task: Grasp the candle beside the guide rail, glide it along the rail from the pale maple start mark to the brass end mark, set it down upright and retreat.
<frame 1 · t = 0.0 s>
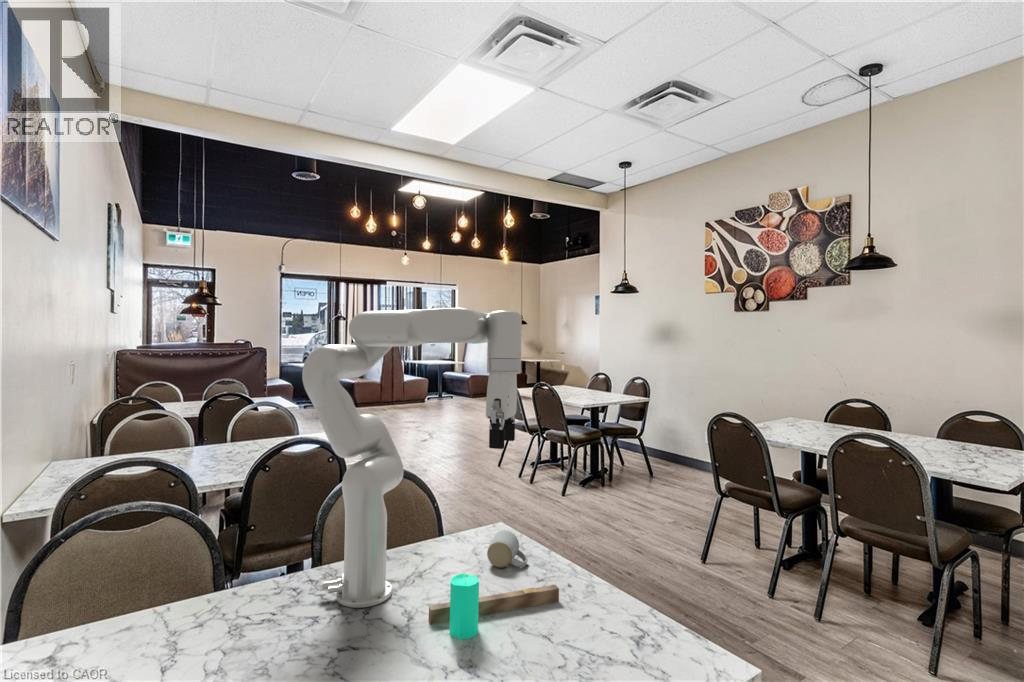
hand: (502, 444, 110), 37 cm above the table, tool pointing down, fingers open, 9 cm apart
ceramic mug: (507, 564, 136), on the table
guide rail: (496, 610, 111), on the table
candle: (463, 631, 103), on the table
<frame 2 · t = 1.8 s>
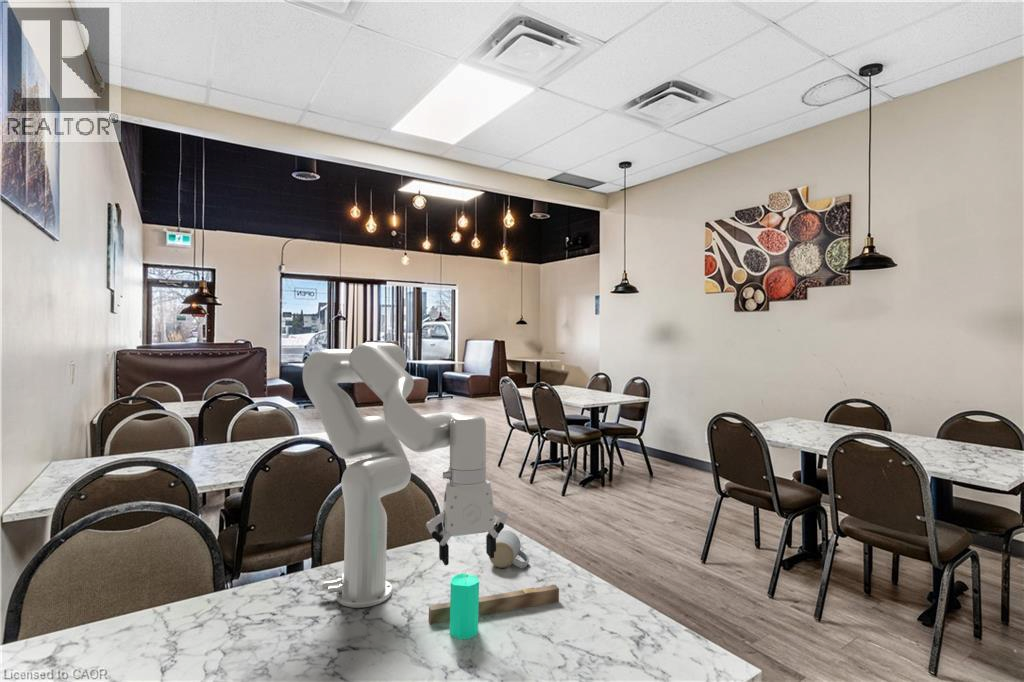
hand: (468, 559, 103), 15 cm above the table, tool pointing down, fingers open, 9 cm apart
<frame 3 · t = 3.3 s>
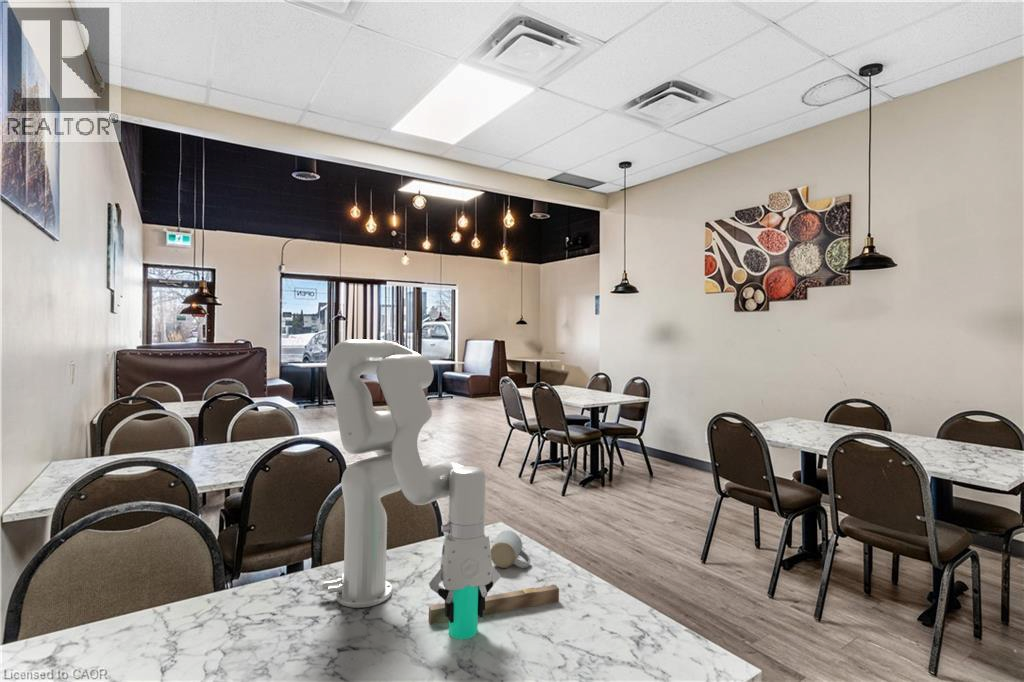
hand: (464, 615, 103), 3 cm above the table, tool pointing down, fingers closed on candle, 5 cm apart
candle: (463, 631, 103), on the table, touching gripper
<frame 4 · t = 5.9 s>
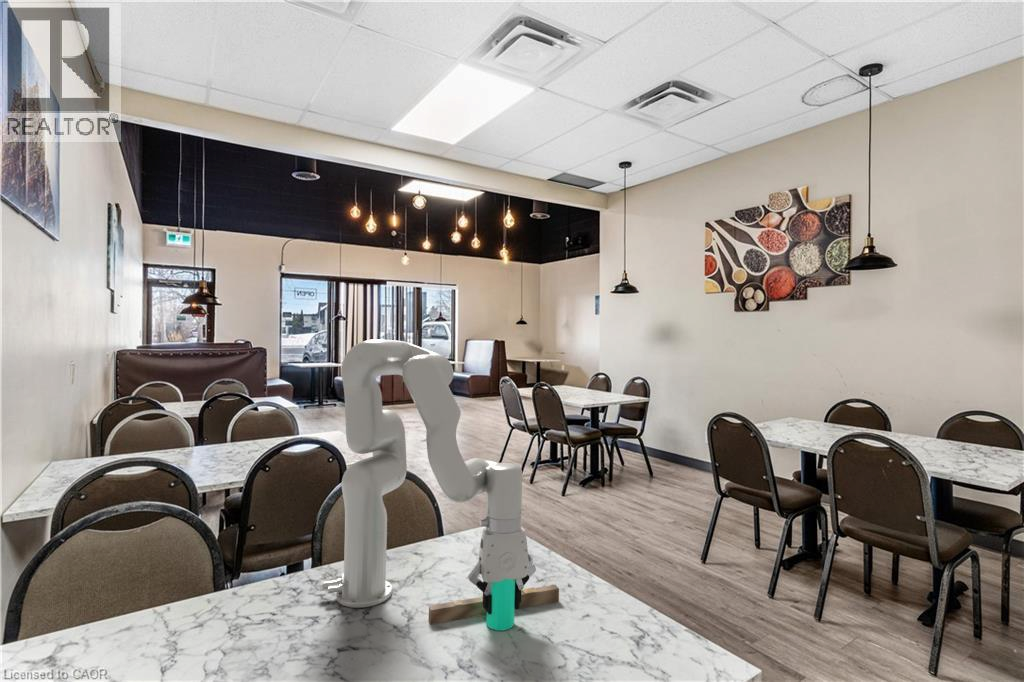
hand: (501, 607, 106), 3 cm above the table, tool pointing down, fingers closed on candle, 5 cm apart
candle: (500, 623, 106), on the table, touching gripper
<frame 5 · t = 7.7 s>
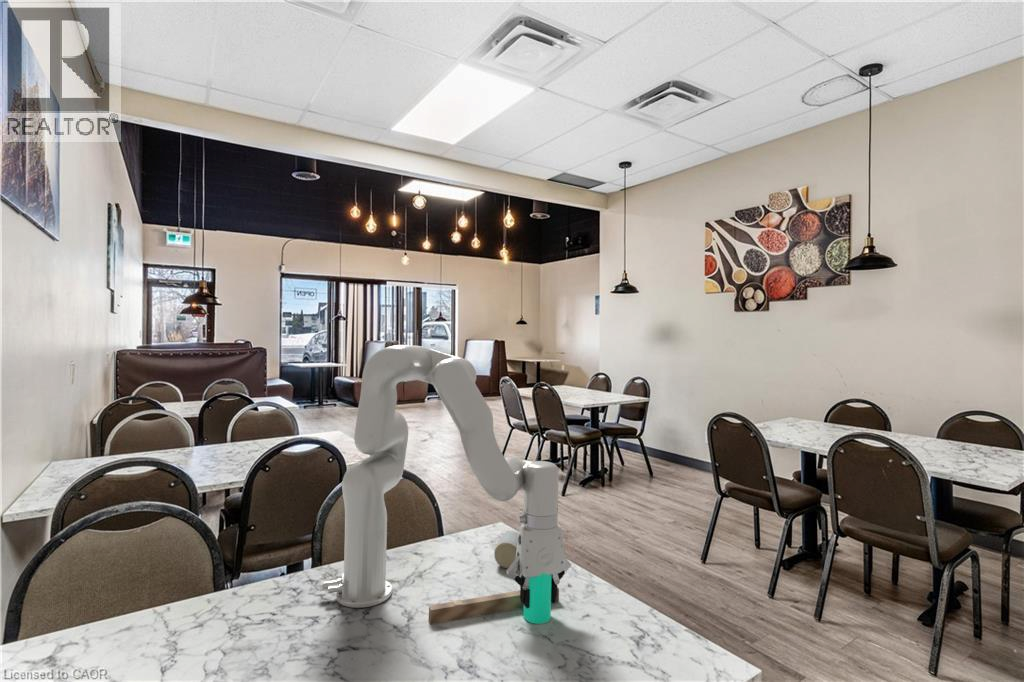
hand: (538, 602, 109), 3 cm above the table, tool pointing down, fingers closed on candle, 5 cm apart
candle: (536, 617, 109), on the table, touching gripper
when the fingers open (3 cm above the table, at t = 8.6 s): candle stays where it is, on the table.
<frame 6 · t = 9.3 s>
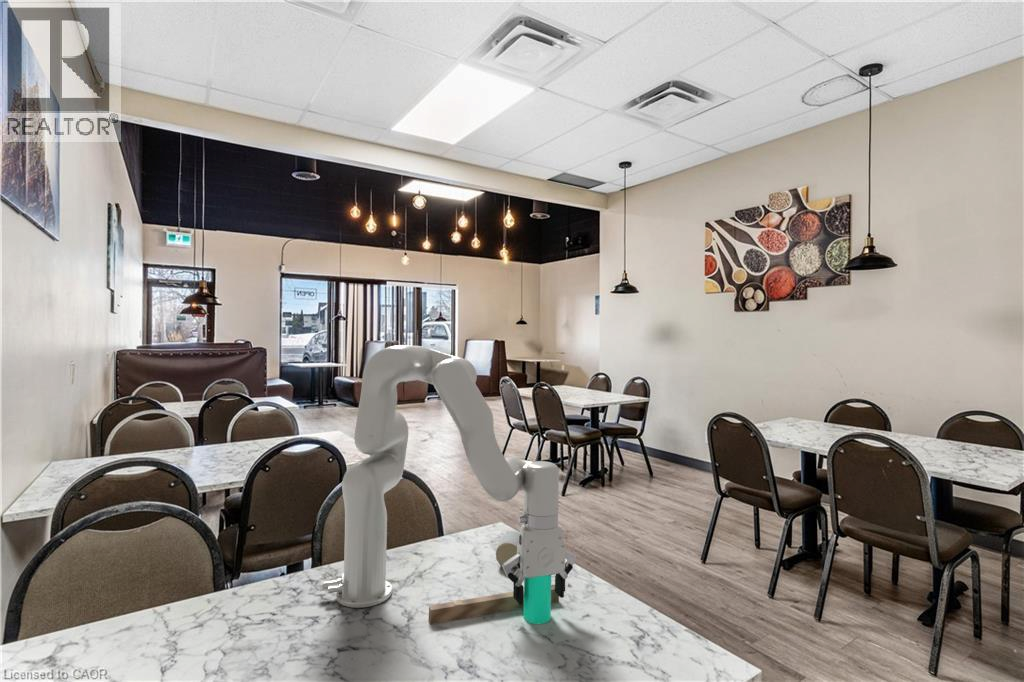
hand: (539, 598, 109), 4 cm above the table, tool pointing down, fingers open, 9 cm apart
candle: (536, 617, 109), on the table
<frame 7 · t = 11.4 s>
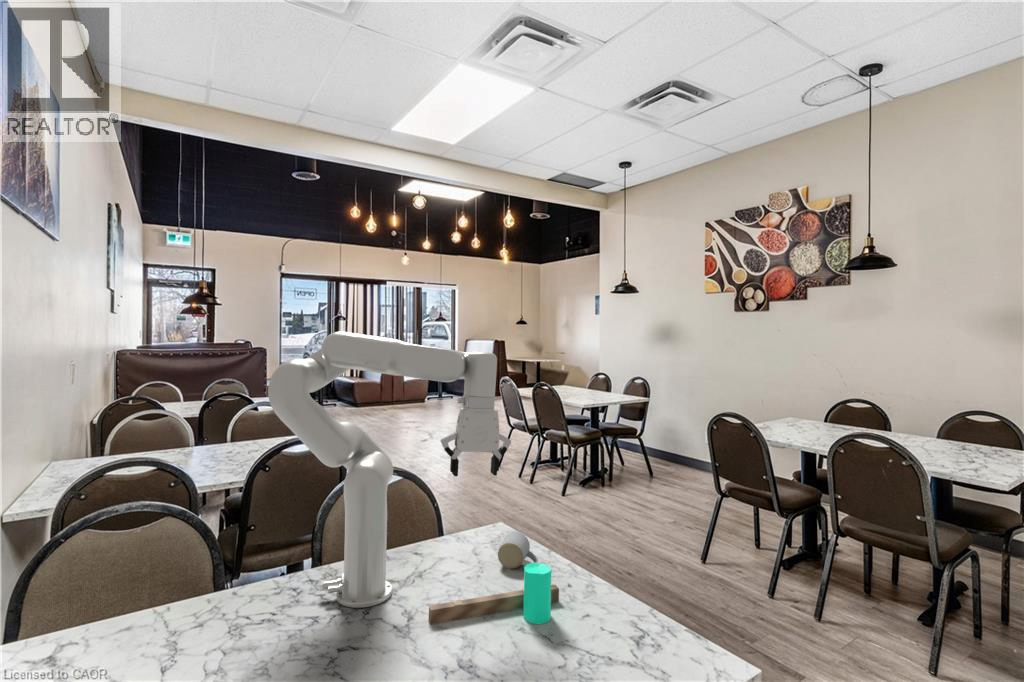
hand: (474, 474, 120), 28 cm above the table, tool pointing down, fingers open, 9 cm apart
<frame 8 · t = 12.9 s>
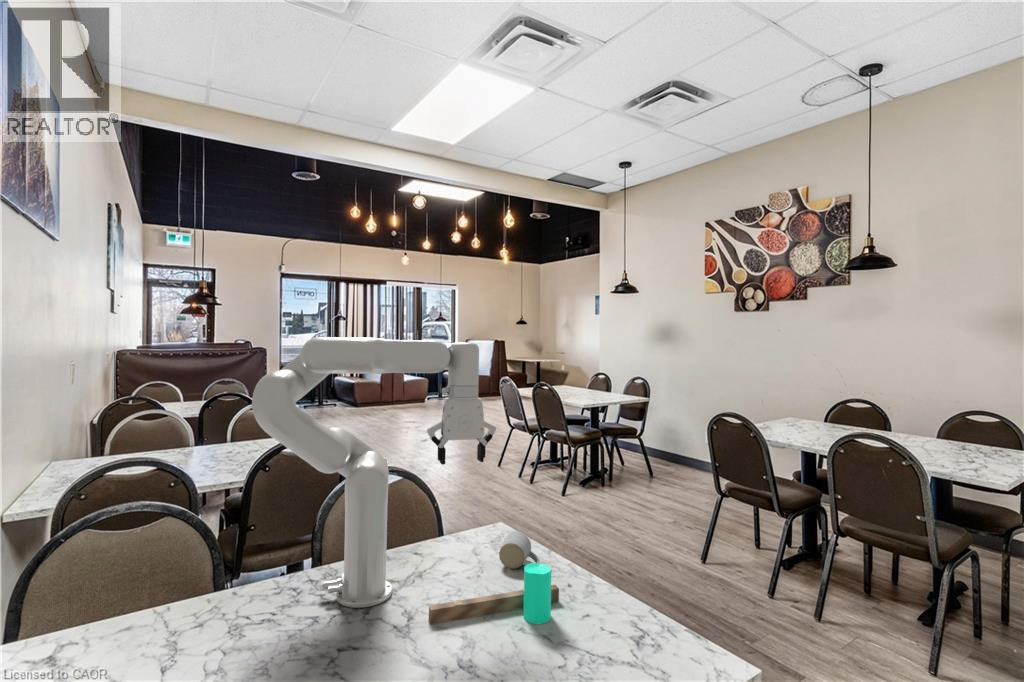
hand: (461, 462, 122), 30 cm above the table, tool pointing down, fingers open, 9 cm apart
at the end: candle 0.8 cm from the target spot, on the table; candle tilted 0°; the gripper is holding nothing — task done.
